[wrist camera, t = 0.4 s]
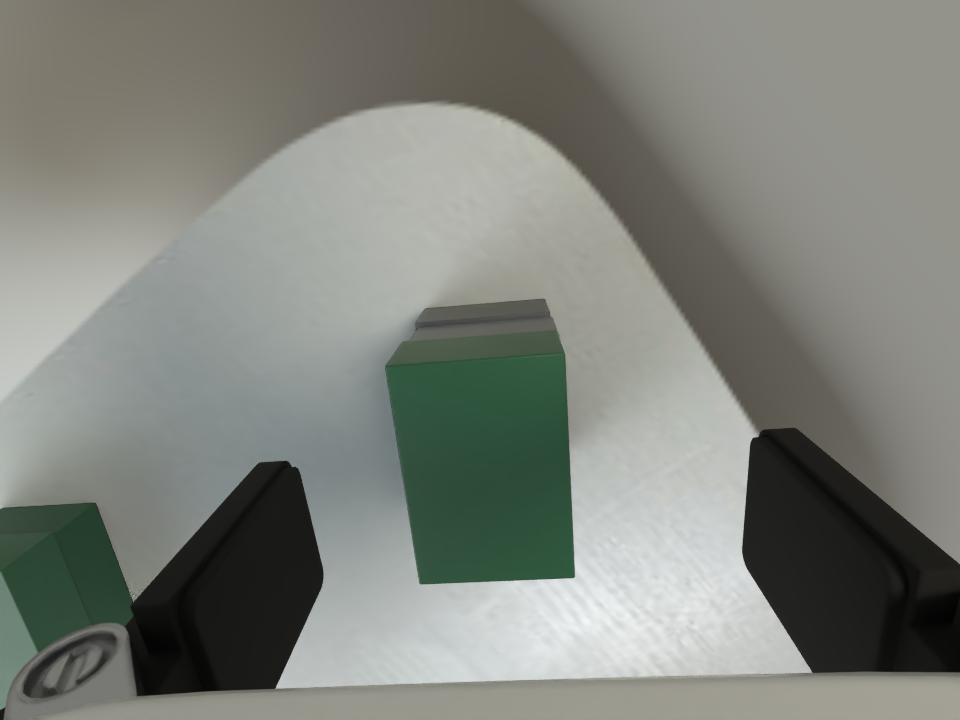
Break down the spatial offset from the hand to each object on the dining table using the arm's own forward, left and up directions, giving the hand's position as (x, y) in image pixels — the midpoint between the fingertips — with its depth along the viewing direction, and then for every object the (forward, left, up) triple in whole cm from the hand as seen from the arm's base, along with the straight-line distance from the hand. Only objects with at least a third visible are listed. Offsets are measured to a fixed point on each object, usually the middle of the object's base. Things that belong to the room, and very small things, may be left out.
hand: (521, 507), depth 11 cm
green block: (+13, -28, -16) cm, 35 cm away
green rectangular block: (+3, -1, -10) cm, 10 cm away
